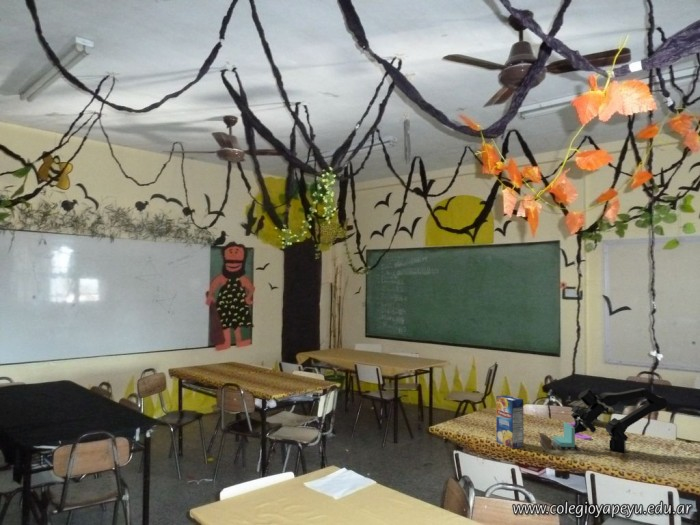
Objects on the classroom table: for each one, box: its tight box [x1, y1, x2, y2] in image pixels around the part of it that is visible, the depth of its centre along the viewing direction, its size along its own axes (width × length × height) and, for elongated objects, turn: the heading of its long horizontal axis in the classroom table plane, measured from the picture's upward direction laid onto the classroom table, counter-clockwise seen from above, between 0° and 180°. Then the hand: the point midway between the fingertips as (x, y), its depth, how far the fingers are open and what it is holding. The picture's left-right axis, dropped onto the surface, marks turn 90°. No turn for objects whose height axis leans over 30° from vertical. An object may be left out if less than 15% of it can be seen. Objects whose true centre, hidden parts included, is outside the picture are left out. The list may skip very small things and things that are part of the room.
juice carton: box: [495, 394, 525, 449], centre depth 266 cm, size 12×8×24 cm, turn 25°
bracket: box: [567, 421, 592, 441], centre depth 282 cm, size 13×6×7 cm, turn 31°
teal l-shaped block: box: [552, 422, 576, 447], centre depth 259 cm, size 7×11×9 cm, turn 177°
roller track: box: [538, 432, 585, 455], centre depth 259 cm, size 18×13×6 cm
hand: (571, 433), depth 259 cm, fingers closed, pressing on teal l-shaped block
